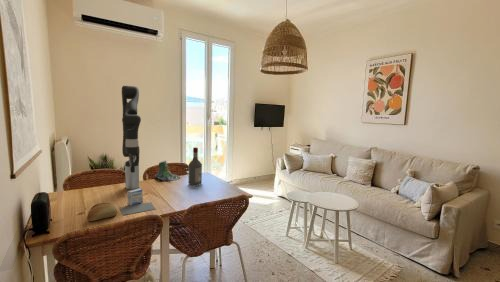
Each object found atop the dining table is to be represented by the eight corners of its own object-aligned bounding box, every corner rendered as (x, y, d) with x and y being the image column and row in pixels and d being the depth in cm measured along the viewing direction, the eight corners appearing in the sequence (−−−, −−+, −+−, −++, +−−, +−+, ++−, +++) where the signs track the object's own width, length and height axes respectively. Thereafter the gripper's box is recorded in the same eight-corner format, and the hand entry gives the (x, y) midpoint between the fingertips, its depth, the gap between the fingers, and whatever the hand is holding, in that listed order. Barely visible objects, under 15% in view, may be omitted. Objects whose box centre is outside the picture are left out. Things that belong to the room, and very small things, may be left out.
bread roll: (83, 219, 134) (83, 205, 133) (113, 211, 146) (113, 198, 144) (90, 225, 128) (89, 210, 127) (120, 216, 139) (120, 203, 138)
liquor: (202, 183, 206) (203, 147, 202) (197, 186, 198) (197, 149, 194) (192, 181, 209) (193, 146, 205) (187, 184, 200) (187, 148, 196)
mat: (119, 207, 150) (119, 207, 150) (151, 202, 161) (151, 202, 161) (122, 215, 141) (122, 214, 141) (155, 209, 151) (155, 208, 151)
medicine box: (131, 206, 153) (131, 192, 152) (127, 204, 155) (126, 191, 155) (142, 202, 160) (142, 189, 159) (138, 201, 162) (138, 188, 161)
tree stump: (178, 182, 208) (173, 161, 204) (154, 187, 206) (148, 167, 202) (181, 175, 226) (176, 156, 222) (159, 180, 224) (154, 161, 220)
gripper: (140, 147, 156) (140, 173, 158) (136, 143, 167) (136, 169, 169) (127, 147, 151) (127, 175, 154) (124, 144, 162) (124, 170, 165)
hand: (132, 171), depth 161 cm, fingers closed
